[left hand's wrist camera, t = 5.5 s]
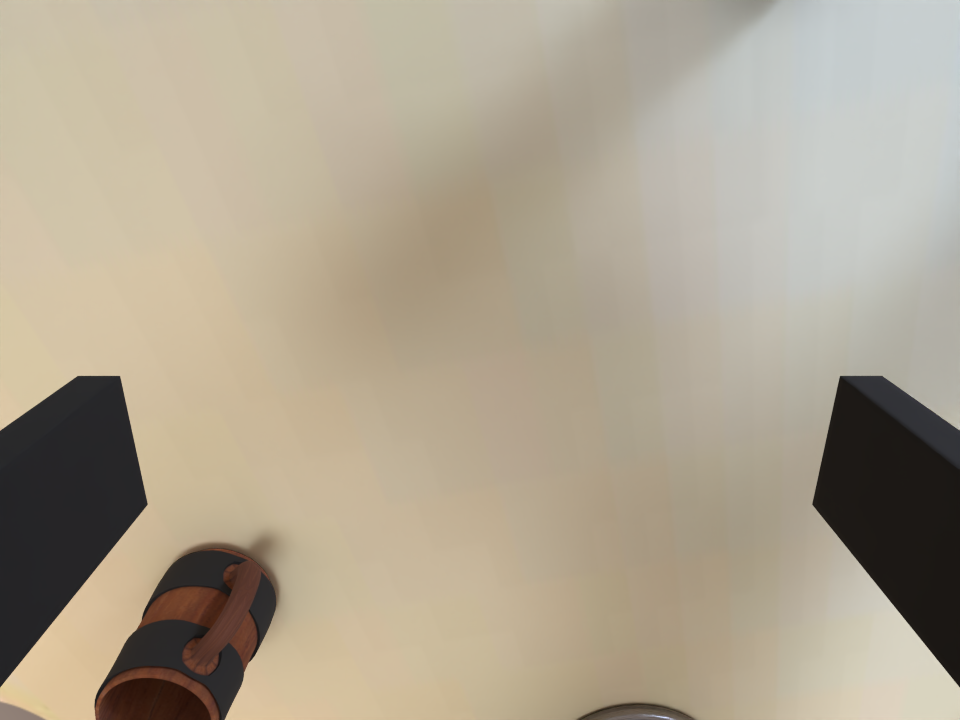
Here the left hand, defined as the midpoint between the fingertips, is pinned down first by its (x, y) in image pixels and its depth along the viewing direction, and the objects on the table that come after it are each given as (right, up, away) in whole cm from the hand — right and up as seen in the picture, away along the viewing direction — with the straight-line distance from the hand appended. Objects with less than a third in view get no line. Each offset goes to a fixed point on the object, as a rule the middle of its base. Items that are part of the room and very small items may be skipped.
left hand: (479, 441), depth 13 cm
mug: (-19, -15, +39) cm, 46 cm away
